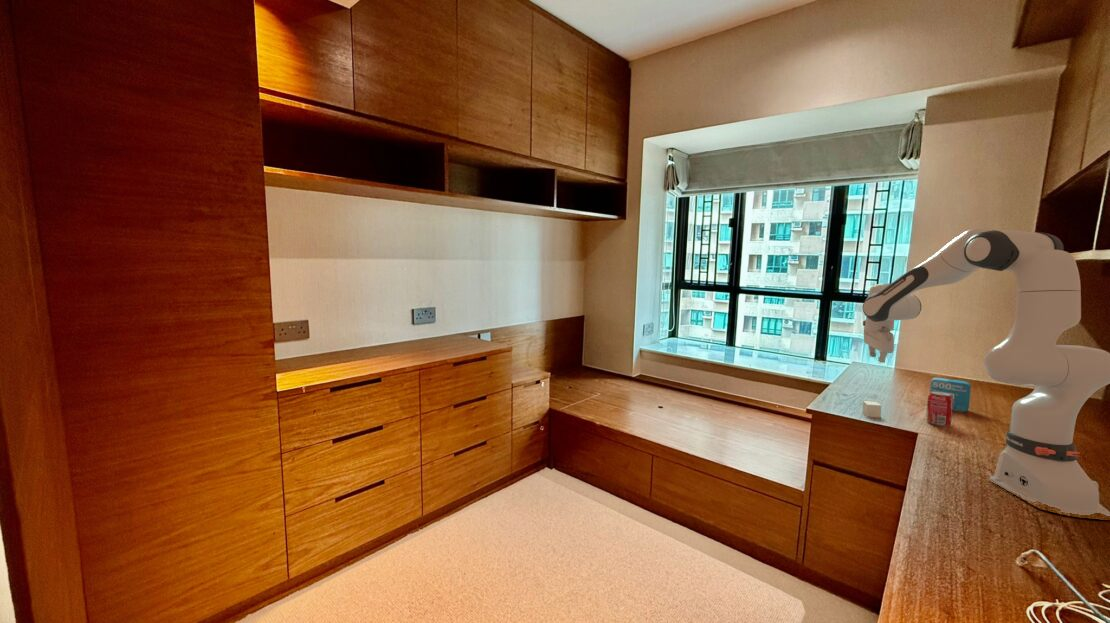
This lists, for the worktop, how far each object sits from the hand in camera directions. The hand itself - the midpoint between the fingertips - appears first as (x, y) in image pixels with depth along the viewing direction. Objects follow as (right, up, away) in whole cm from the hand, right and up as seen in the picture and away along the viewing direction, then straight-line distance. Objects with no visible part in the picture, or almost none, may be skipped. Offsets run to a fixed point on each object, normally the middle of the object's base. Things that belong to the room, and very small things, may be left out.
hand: (876, 359), depth 167 cm
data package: (+37, -22, +9) cm, 44 cm away
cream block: (0, -23, +3) cm, 23 cm away
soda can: (+17, -24, -7) cm, 30 cm away
